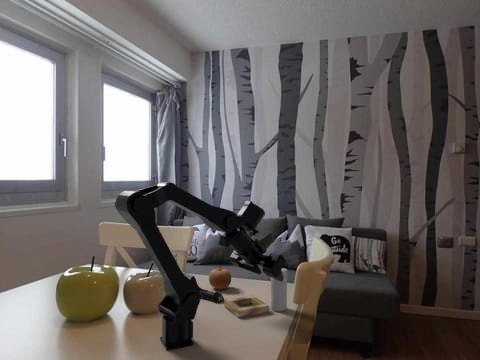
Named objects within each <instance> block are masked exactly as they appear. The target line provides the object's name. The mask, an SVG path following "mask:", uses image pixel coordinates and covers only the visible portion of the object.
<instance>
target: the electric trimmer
mask: <svg viewBox="0 0 480 360" xmlns="http://www.w3.org/2000/svg"><path fill="white" fill-rule="evenodd" d="M199 291H200V293H201V299H206V300H208V301H212V302H214V303H215V304H221V303H224V300H225V297H224V295H223V294H222V293H220V292H218V291H210V290H208V289H203V288H201V290H199Z"/></svg>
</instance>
